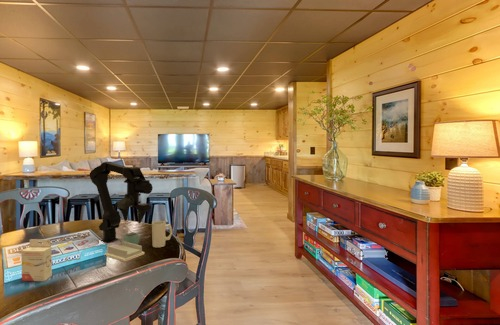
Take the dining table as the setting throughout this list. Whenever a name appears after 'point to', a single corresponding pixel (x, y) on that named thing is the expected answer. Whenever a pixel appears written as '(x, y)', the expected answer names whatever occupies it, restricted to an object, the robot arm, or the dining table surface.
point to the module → (132, 238)
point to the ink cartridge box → (37, 261)
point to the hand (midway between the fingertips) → (132, 222)
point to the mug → (160, 233)
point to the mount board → (124, 251)
